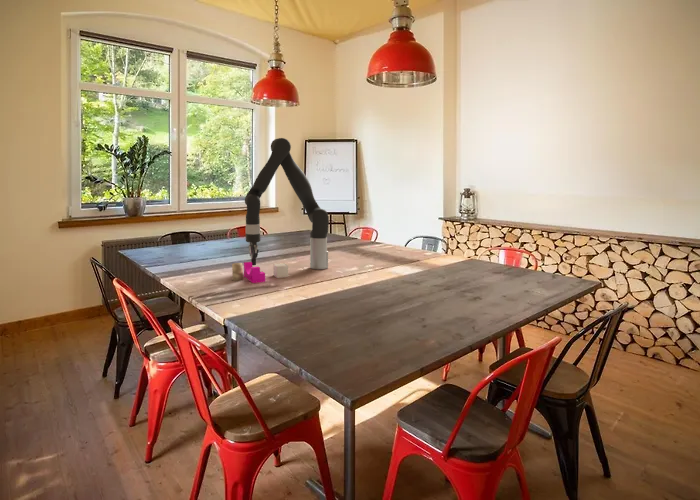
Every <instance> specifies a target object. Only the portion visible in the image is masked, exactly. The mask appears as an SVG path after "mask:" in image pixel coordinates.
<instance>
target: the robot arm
mask: <svg viewBox="0 0 700 500" xmlns="http://www.w3.org/2000/svg"><path fill="white" fill-rule="evenodd" d="M291 148H292V145H291V142H290V141H289V140H288V139H287V138H285V137H278V138H275V139H274V140H272V141H271V143H270V151H271V154H270V156H269V159H268V160H267V162H266V163H265V164H264V165H263V167H262V168H261V170H260V171H259V173H258V175H257V176H256V178H255V180H254V182H253V185H252V186H251V188H250V189H249V190H248V192H247V193H246V195H245V197H244V203H245V205H246V214H245V242H246V243H249V244H248V247H247V248H248V252H249V257H250V258H251V259H250V260H251V261H250V262H252V266H256V265H257V258H258V255H259V245H258V243H260V242H261V223H260V222H261V221H260V220H261V219H260V212H261V198H262V195H264V193H265V192H266V191H267V189H268V187H269V185H270V183H271V181H272V179H273V178H274V176H275V174H276V172H277V170H278V169H279V167H280V166H281V168H282V170H283V172H284V174H285V176H286V178H287V180H288V182H289V184H290V186H291V188H292V190H293V191H294V193H295V194H296V196H297V197H298V199H299V201H300V202H301V204H302V205H303V208H304V210H305V212H306V214H307V217H308V219H309V221H310V223H312V225H311V226H312V227H311V231H310V233H309V234H310V235H309V236H310V238H309V239H310V242H309V243H310V247H309V248H310V249H309V255H310V256H309V258H310V259H309V260H310V262H309V267H310V269H312V270H325V269H328V268H329V251H328V233H329V223H330V222H329V220H330V219H329V213H328V212H327V211H326V210H325V209H323V208H321V207H320V206H319V204H318V202H317V201H316V199H315V197H314V194H313V189H312V187H311V183H310V181H309V179H308V177H307V176H306V174H305V172H304V171H303V170H302V169H301V167H300V166H299V165H298V164H297V162H296V161H295V160H294V158H293V156H292V154H291V153H290V152H291Z"/></svg>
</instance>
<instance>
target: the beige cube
mask: <svg viewBox="0 0 700 500" xmlns="http://www.w3.org/2000/svg"><path fill="white" fill-rule="evenodd" d="M272 265H273V276H274V277H275V278H277V279H278V278H279V279H281V278H289V265H288V264H287V263H285V262H283V263H274V264H272Z"/></svg>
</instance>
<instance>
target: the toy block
mask: <svg viewBox="0 0 700 500" xmlns="http://www.w3.org/2000/svg"><path fill="white" fill-rule="evenodd" d="M245 277H246V280H248V281H249V282H250V283H252V284H257V283H265V282H266V273H265V272H264V271H261V268H260V266H253V265H252V262H251V261H244V262H243V278H245Z"/></svg>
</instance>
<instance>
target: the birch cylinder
mask: <svg viewBox="0 0 700 500" xmlns="http://www.w3.org/2000/svg"><path fill="white" fill-rule="evenodd" d="M231 268H232V269H231V273H232V274H231V275H232V281H233V282H241V281H243V280H244V263H242V262H233V263H232V264H231Z"/></svg>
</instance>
